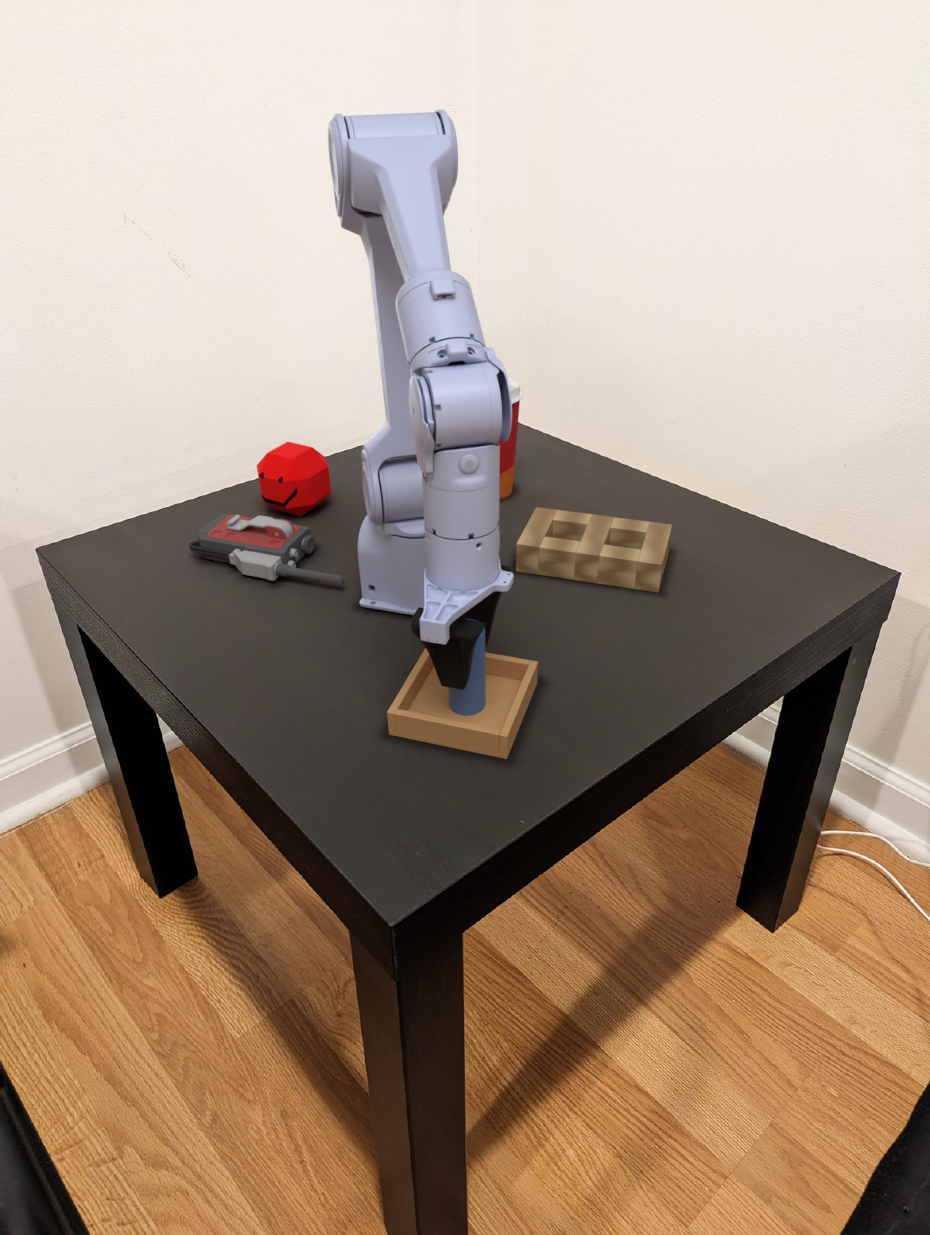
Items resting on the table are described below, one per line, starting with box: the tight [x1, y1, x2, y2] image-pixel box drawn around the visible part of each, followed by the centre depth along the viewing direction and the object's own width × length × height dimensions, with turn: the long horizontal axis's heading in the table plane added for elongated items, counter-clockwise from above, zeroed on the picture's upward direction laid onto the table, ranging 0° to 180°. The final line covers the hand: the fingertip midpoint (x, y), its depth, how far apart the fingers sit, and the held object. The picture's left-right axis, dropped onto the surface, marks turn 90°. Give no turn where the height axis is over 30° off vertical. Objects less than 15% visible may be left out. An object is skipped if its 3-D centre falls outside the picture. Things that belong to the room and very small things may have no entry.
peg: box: [448, 619, 486, 716], centre depth 74 cm, size 3×3×8 cm
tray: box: [386, 647, 539, 760], centre depth 76 cm, size 10×10×2 cm
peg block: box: [515, 506, 673, 594], centre depth 96 cm, size 16×9×4 cm, turn 72°
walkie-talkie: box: [188, 513, 345, 584], centre depth 97 cm, size 9×4×20 cm
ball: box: [256, 441, 332, 517], centre depth 107 cm, size 8×8×8 cm
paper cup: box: [498, 376, 523, 500], centre depth 108 cm, size 8×8×14 cm
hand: (464, 664), depth 74 cm, fingers open, 5 cm apart
